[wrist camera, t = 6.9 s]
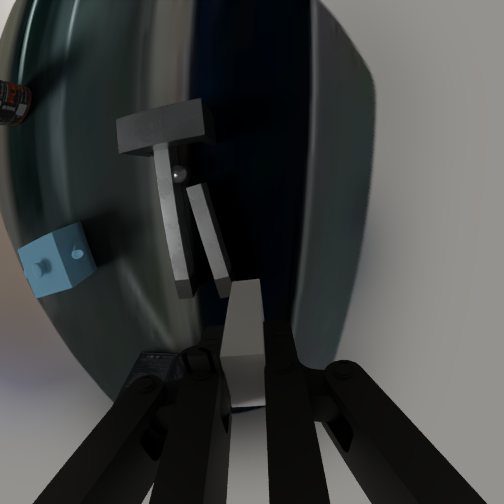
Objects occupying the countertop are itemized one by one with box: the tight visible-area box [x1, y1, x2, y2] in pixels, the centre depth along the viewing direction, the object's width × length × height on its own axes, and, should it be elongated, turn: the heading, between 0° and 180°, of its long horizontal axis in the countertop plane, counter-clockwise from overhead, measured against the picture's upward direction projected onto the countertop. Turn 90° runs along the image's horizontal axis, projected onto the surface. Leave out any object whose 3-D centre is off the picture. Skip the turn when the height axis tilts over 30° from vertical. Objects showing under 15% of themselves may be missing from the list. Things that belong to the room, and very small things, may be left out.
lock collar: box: [116, 98, 217, 157], centre depth 22 cm, size 3×7×7 cm, turn 97°
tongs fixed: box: [154, 146, 199, 299], centre depth 26 cm, size 15×3×3 cm, turn 7°
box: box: [112, 352, 184, 406], centre depth 29 cm, size 8×6×11 cm
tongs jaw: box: [186, 183, 236, 298], centre depth 26 cm, size 11×2×3 cm, turn 15°
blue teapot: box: [18, 221, 98, 298], centre depth 25 cm, size 12×6×8 cm, turn 105°
